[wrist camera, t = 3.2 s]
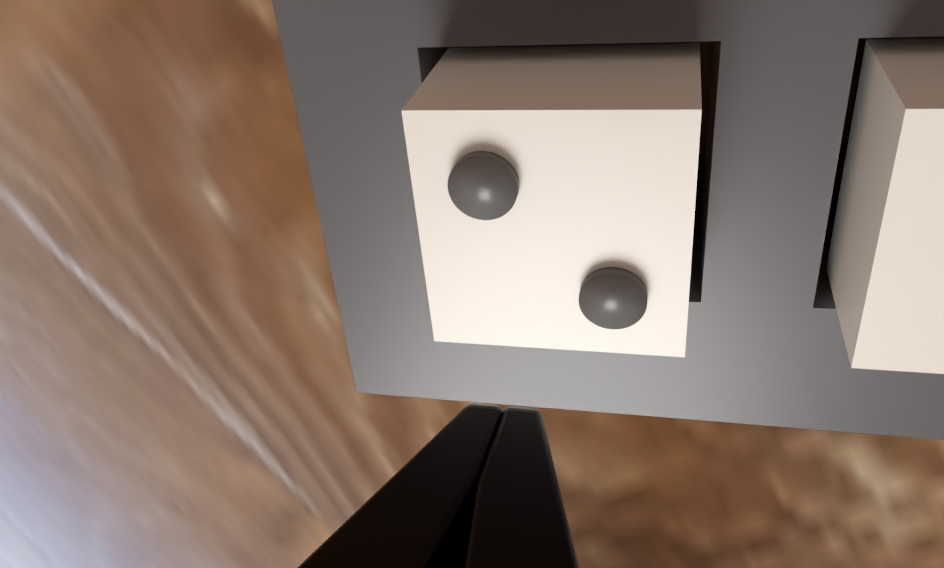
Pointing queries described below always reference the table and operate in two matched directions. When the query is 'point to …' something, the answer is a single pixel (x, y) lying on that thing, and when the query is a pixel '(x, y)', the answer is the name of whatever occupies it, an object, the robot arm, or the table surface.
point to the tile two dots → (558, 194)
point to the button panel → (713, 253)
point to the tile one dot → (893, 212)
